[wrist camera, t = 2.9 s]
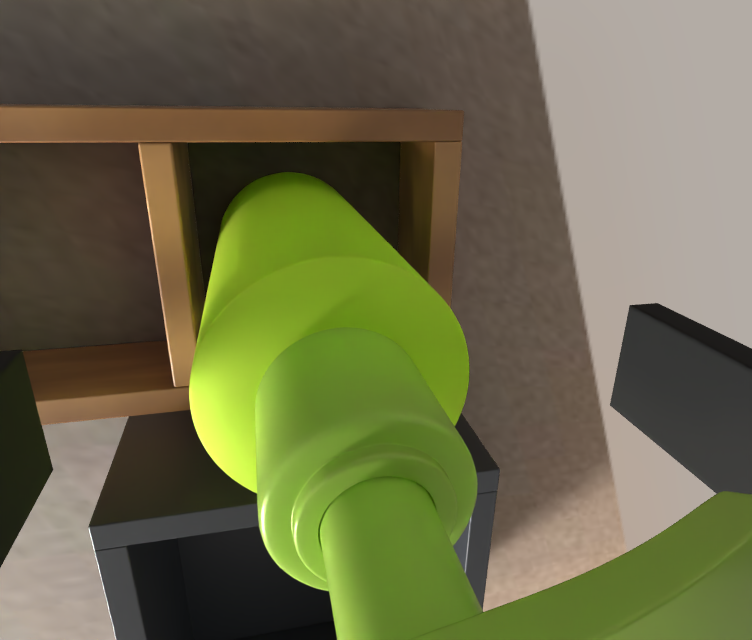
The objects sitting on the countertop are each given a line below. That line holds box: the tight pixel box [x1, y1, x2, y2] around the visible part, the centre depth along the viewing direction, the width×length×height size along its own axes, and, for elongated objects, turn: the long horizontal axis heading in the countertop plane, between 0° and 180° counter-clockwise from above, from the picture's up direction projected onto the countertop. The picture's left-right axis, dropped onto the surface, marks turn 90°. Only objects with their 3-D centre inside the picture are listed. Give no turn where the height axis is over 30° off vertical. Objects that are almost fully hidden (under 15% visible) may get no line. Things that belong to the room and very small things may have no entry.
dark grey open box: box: [88, 410, 500, 640], centre depth 25 cm, size 16×14×8 cm
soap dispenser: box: [189, 172, 752, 640], centre depth 14 cm, size 6×7×20 cm
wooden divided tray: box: [0, 104, 464, 425], centre depth 20 cm, size 10×20×4 cm, turn 89°
